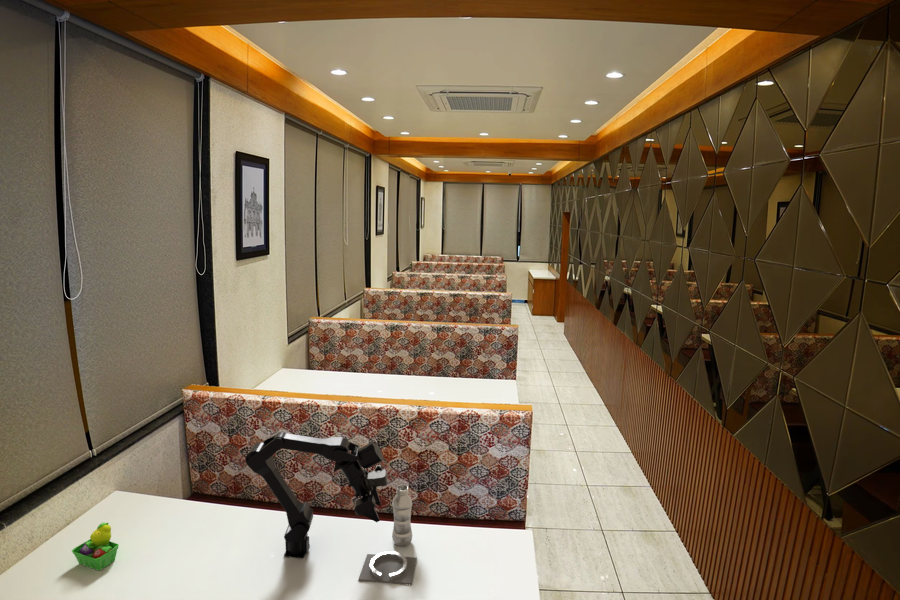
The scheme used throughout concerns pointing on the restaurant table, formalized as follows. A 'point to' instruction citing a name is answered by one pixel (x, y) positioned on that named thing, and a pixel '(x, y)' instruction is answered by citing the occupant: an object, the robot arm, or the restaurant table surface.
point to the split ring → (388, 555)
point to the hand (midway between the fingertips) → (379, 512)
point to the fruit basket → (97, 549)
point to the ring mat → (388, 570)
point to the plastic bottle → (402, 516)
